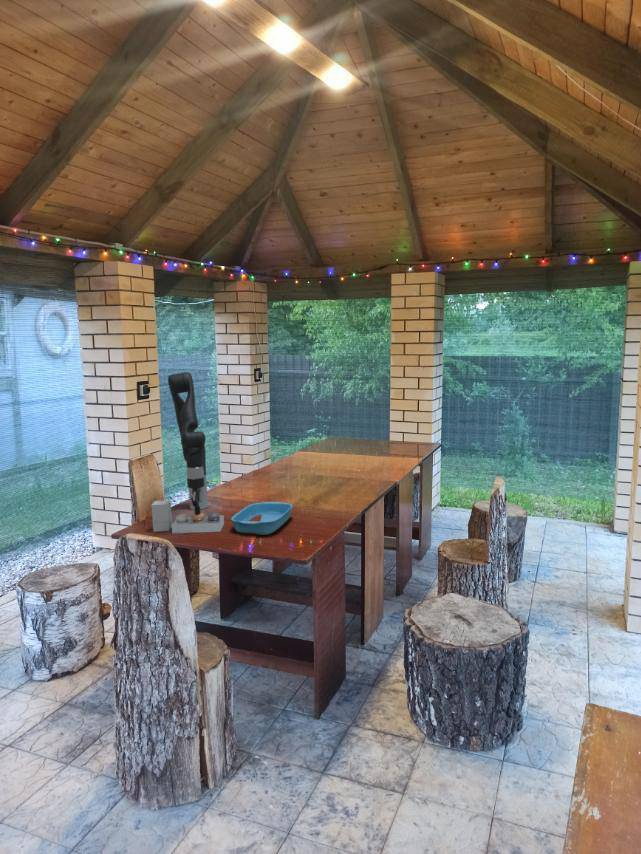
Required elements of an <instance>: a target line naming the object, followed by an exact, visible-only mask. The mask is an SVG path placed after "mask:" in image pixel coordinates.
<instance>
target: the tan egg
mask: <svg viewBox="0 0 641 854" xmlns="http://www.w3.org/2000/svg"><path fill="white" fill-rule="evenodd" d="M191 516H192V520H195V521H201V520H202V519H204V516H205V514H204V512H200V514H199V515H195V512H194V513H191Z"/></svg>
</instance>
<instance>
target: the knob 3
mask: <svg viewBox="0 0 641 854" xmlns="http://www.w3.org/2000/svg"><path fill="white" fill-rule="evenodd" d="M220 515H221V514H220V512H211V513H208V514H207V516H208V520H218V519H220Z"/></svg>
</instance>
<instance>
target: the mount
mask: <svg viewBox="0 0 641 854" xmlns="http://www.w3.org/2000/svg"><path fill="white" fill-rule="evenodd" d="M224 525H225V519H224V514H220V519H218V520H208V515H204V519H202V520H201V521H195V520H192V515H191V516H190V515H188V520H187V521H184V522H178V521H177V519H176V518H175V520H174V521H172V527H171V534H192V533H193V534H194V533H219V532H221V531H222V529H223V527H224Z"/></svg>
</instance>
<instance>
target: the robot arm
mask: <svg viewBox="0 0 641 854" xmlns="http://www.w3.org/2000/svg"><path fill="white" fill-rule="evenodd" d="M167 384H168V387H169V391H170V395H171V397H172V402H173V405H174V411H175V418H176V423H177V427H178V430H179V435H180V444H181V446H182V447H181V449H182V454H183V459H184V461H185V463H186V484H187V485H186V486H187V488H188V500H189V509H190V510H194V513H195V515H199V514H200V513H201V510H205V509H208V507H209V503H208V500H209V499H208V486H207V485H208V484H207V483H208V482H207V469H206V468H207V467H206V465H207V463H206V461H207V460H206V451H207V450H206V446H205V444H206V435H205V433H204V432H203V431H199V430H198V431H195V430H197V429H198V428H199V421H198V416H197V411H196V397H195V384H194V380H193V376H192V374H191V373H190V372H189V371H184V372H178V373H173V374H170V375H168V377H167ZM184 393H187V395H186V399H185V400H183V398H182V397H181V396H180V394H184Z"/></svg>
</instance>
